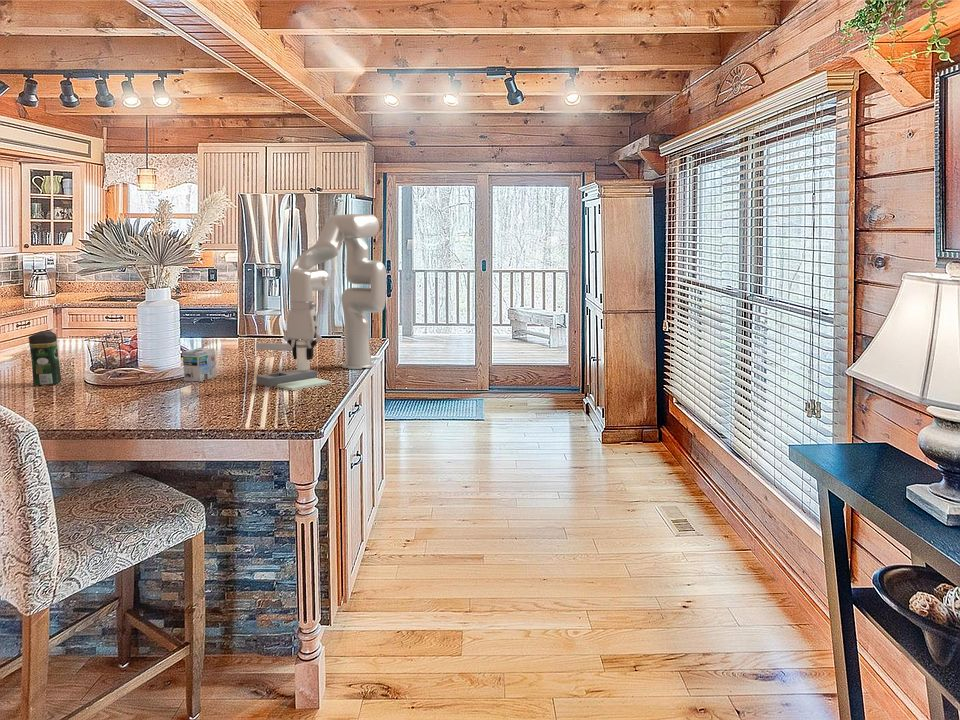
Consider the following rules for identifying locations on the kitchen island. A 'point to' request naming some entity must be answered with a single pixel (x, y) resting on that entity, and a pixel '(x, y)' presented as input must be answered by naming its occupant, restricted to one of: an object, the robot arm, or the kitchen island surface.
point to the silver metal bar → (273, 346)
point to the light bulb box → (199, 364)
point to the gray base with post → (285, 377)
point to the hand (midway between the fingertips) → (303, 358)
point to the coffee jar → (44, 358)
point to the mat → (303, 384)
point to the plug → (302, 355)
